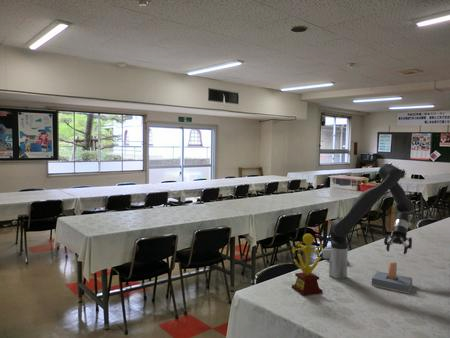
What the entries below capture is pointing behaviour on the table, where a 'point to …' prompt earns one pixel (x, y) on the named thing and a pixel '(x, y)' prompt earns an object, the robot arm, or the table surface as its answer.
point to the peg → (392, 270)
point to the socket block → (392, 282)
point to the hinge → (327, 253)
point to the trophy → (307, 269)
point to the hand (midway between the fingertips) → (396, 252)
